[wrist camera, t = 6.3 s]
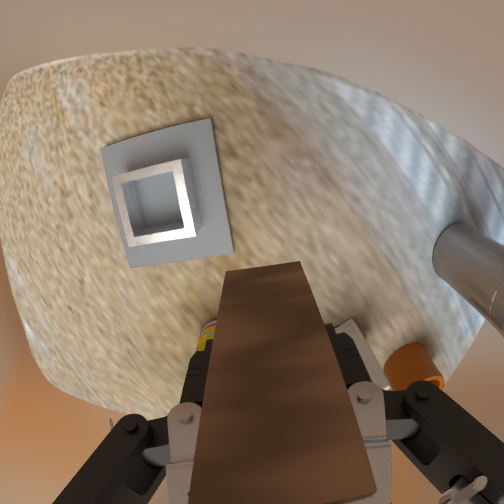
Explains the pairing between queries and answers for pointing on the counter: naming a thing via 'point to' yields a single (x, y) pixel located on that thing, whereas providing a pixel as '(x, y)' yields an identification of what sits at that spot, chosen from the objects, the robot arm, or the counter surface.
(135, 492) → the robot arm
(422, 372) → the mug
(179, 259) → the collar stand
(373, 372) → the skincare box
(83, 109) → the counter surface
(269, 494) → the walnut stick
